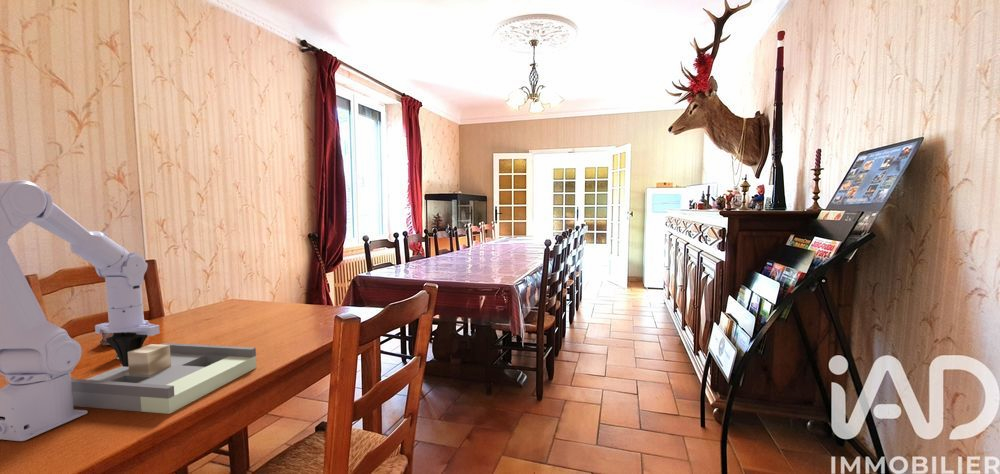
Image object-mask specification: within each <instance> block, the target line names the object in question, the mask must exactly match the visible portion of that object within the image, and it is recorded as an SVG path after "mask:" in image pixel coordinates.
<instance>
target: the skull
mask: <svg viewBox="0 0 1000 474" xmlns="http://www.w3.org/2000/svg"><path fill="white" fill-rule="evenodd" d="M112 335H113V333H101V336H102V337H101V340H99V343H100V345H102V346H111V345H110V344H109V343H108V342H107V341H106V339H107V338H109V337H112Z"/></svg>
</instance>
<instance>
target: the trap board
mask: <svg viewBox="0 0 1000 474" xmlns="http://www.w3.org/2000/svg"><path fill="white" fill-rule="evenodd" d="M159 345H170V356H171V367H168V368H166V369H163V370H161V371H159V372H156V373H154V374H151V375H134V374H129V367H123V366H122V365H121V366H119V367H115V368H113V369H111V370H107V371H105V372H101V373H100V374H96V375H93V376H91V377H88V378H85V379H83V378H71V384H72V395H73V406H74V407H82V408H94V409H103V410H104V409H107V410H119V411H128V412H129V411H130V412H141V413H142V412H144V413H155V414H166V415H167V414H170V415H171V414H172V413H174V412H176V411H178V410H180V409H182V408H183V407H185V406H187V405H189V404H191V403H193V402H194V401H197V400H198V399H200V398H202V397H205V396H206V395H208V394H209V393H211V392H213V391H216V390H217V389H219V388H220V387H222V386H224V385H227V384H228V383H230V382H232V381H234V380H236V379H237V378H240V377H241V376H244V375H246V374H247V373H249V372H252V370H255V369H257V353H256V350H257V349H256V347H250V346H249V347H248V346H232V345H231V346H230V345H229V346H228V345H213V344H212V345H209V344H194V343H193V344H192V343H191V344H189V343H172V342H171V343H170V342H163V343H160V344H159Z"/></svg>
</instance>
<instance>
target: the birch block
mask: <svg viewBox="0 0 1000 474" xmlns="http://www.w3.org/2000/svg"><path fill="white" fill-rule="evenodd" d="M128 364H129V374H134V375H151V374H154V373H156V372H159V371H161V370H163V369H166V368H168V367H171V356H170V345H159V344H157V343H156V344H154V343H153V344H152V343H149V344H147V345H144V346H142V347H141V348H138V349H135V350H132V351H129V352H128Z"/></svg>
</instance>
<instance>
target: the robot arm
mask: <svg viewBox="0 0 1000 474" xmlns="http://www.w3.org/2000/svg"><path fill="white" fill-rule="evenodd" d="M30 223H32V224H35V225H36V226H38V227H39V228H42V229H44V230H45V231H48V232H49V233H51V234H53V235H55V236H56V237H59V239H62V240H64V241H66V242H68V243H69V245H70V246H69V249H70V251H71V252H72V253H73V254H74V255H76V256H78V257H79V258H81V259H82V260H84V261H85V262H87V263H89V264H91V266H93V267H94V270H95V272H96V275H98V277H99V278H100V277H102V278H104V281H105V294H106V304H107V306H106V307H107V318H108V322H104V323H103V322H102V323H99V324H95V325H94V329H95V334H96V335H97V334H98V335H99V334H102V333H113V335H112V337H109V338H107V339H106V341H107V342H108V343H109V344H110V345H109V346H111V347H112V349H113V350H114V351H115V354H116V353H117V355H118V357H119V359H118V360H119V361H120V363H121V366H123V367H129V364H128V352H129V351H132V350H135V349H138V348H141V347H143V345H144V343H145V341H146V339H147V338H148V337H153V336H156V335H158V334H160V333H161V331H160V324H154V323H150V322H149V320H147V319H145V316H144V302H143V290H142V289H143V287H142V285H143V284H144V282H145V274H146V272H147V270H148V262H146V259H145V258H144V257H143V256H142V255H141V254H139V253H137V252H129V250H127V249H126V248H125V247H124V246H123V245H120V244H118V243H117V242H115V241H114V240H113V239H111V238H110V237H109V236H110V235H109V234H108V233H107V232H105V231H99V230H88V229H87V228H86V227H84V226H83V225H81V223H79V221H77V220H76V219H74V218H73V217H71V216H70V215H69V214H68V212H65V211H64V210H63V209H62V208H61V207H59V206H58V205H57V204H56V203H54V199H53V195H52V194H51V193H49V192H47V191H46V190H43V189H42V187H40V186H39V185H38V184H36V183H35V182H32V181H28V180H21V179H20V180H19V179H18V180H13V181H10V180H9V181H7V180H5V181H4V180H3V181H1V180H0V375H2V376H4V377H5V378H4V379H5V381H6V382H9V383H8V384H7V385H5V386H3V387H2V388H0V440H6V441H15V442H24V441H28V440H29V439H31V438H34V437H36V436H39V435H41V434H43V433H46V432H48V431H50V430H52V429H54V428H57V427H59V426H61V425H64V424H66V423H68V422H71V421H73V420H75V419H77V418H80V417H81V416H84V415H87V414H88V410H86V409H75V406H73V395H72V384H71V379H72V374H71V373H72V372H73V371H75V367H76V366H78V364H79V362H80V360H81V357H82V353H83V351H82V346H81V344H80V343H79V342H78V341H77V340H75V339H74V338H72V337H71V336H70V335H69V334H68V331H67V330H66V329H64V328H63V327H60V326H58V325H56V324H54V323H52V322H51V321H48V319H47V317H46V315H45V313H44V311H43V309H42V307H41V305H40V303H39V301H38V299H37V297H36V296H35V293H34V292H33V289H32V287H31V286H30V284H29V281H28V280H27V278H26V276H25V274H24V272H23V270H22V268H21V267H20V265H19V263H18V260H17V258H16V256H15V254H14V253H13V251H12V249H11V247H10V245H9V243H8V241H9V239H11V237H12V236H13V235H14V234H16V233H18V232H19V231H20V230H21V229H23V228H24V227H25V226H27V225H28V224H30Z"/></svg>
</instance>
